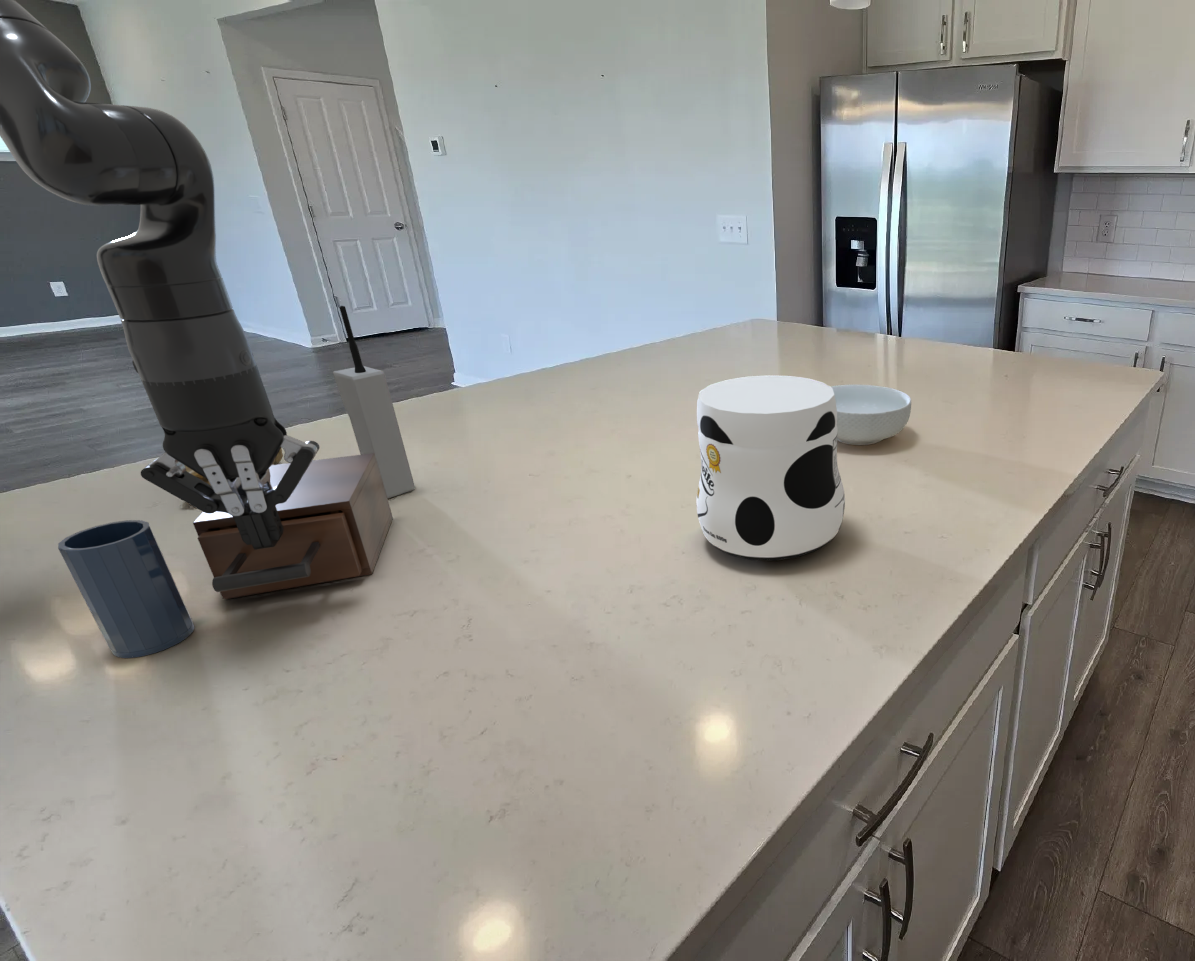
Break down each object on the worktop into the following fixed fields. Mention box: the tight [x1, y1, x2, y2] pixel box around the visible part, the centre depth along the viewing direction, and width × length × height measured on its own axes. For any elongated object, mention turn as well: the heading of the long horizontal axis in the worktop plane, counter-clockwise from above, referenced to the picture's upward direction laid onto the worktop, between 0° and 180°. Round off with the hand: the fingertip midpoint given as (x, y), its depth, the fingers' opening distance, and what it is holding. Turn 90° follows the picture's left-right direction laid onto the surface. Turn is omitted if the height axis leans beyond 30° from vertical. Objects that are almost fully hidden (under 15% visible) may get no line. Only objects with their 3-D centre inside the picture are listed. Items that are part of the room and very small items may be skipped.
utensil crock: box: [57, 519, 195, 659], centre depth 63 cm, size 6×6×11 cm
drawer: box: [197, 510, 362, 600], centre depth 73 cm, size 20×12×7 cm, turn 24°
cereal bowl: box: [829, 383, 912, 446], centre depth 115 cm, size 17×17×7 cm
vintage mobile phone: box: [332, 305, 416, 499], centre depth 90 cm, size 4×5×25 cm
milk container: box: [695, 374, 846, 562], centre depth 81 cm, size 17×17×18 cm
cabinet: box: [192, 453, 394, 600], centre depth 78 cm, size 15×13×9 cm
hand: (266, 544), depth 67 cm, fingers closed
